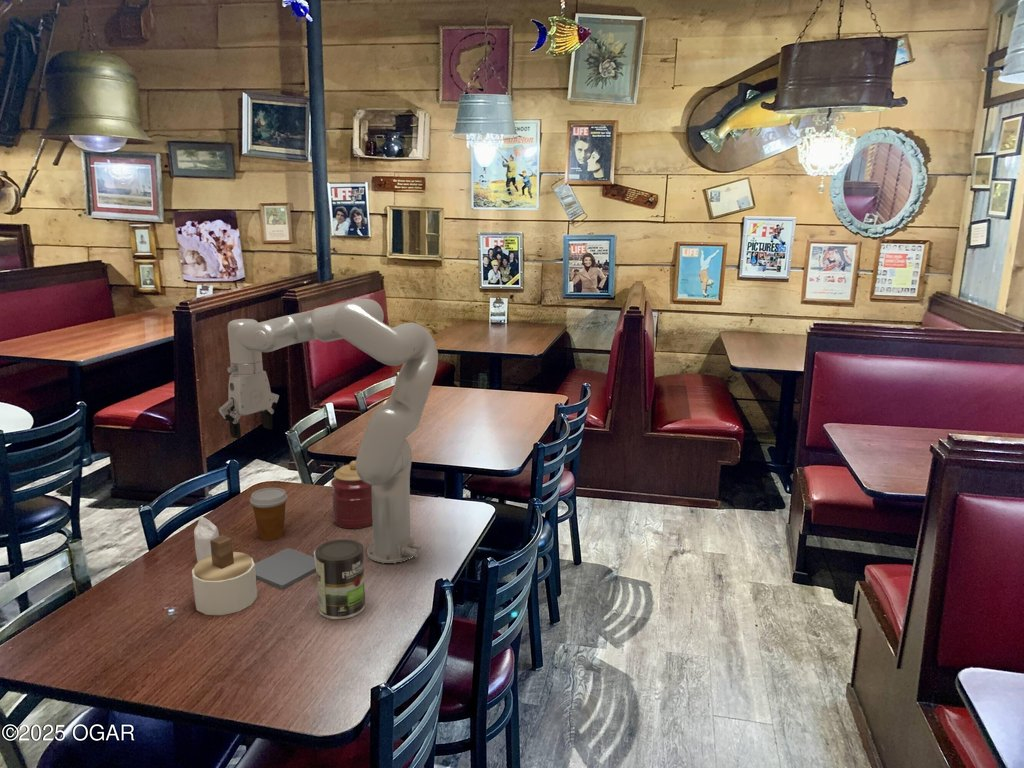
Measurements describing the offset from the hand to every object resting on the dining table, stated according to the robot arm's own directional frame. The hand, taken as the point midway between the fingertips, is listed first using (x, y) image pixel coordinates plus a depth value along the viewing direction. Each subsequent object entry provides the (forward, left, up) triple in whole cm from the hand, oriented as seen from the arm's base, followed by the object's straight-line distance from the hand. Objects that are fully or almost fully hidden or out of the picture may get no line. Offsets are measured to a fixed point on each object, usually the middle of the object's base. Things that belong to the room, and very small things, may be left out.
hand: (252, 432), depth 191 cm
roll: (0, +16, -30) cm, 33 cm away
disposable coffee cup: (-2, -2, -30) cm, 30 cm away
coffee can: (-44, +14, -30) cm, 54 cm away
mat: (-20, +9, -29) cm, 36 cm away
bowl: (-20, +26, -29) cm, 43 cm away
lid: (-20, +26, -21) cm, 39 cm away
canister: (-14, -22, -30) cm, 40 cm away
